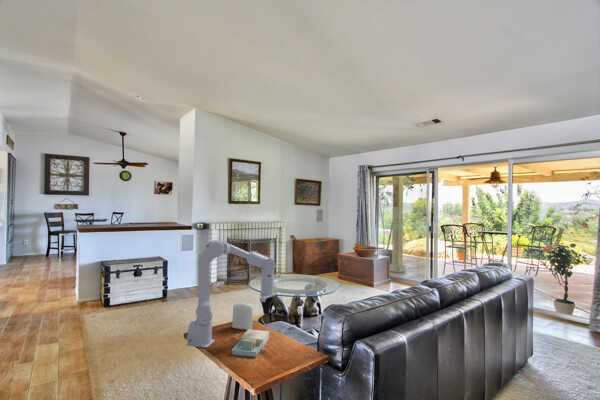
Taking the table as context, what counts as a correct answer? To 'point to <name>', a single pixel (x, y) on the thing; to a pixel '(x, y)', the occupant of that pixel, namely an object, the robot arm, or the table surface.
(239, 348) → the box
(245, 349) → the sage tile
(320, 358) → the table surface
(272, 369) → the table surface
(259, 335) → the cream square block
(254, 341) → the terracotta tile
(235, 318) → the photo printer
